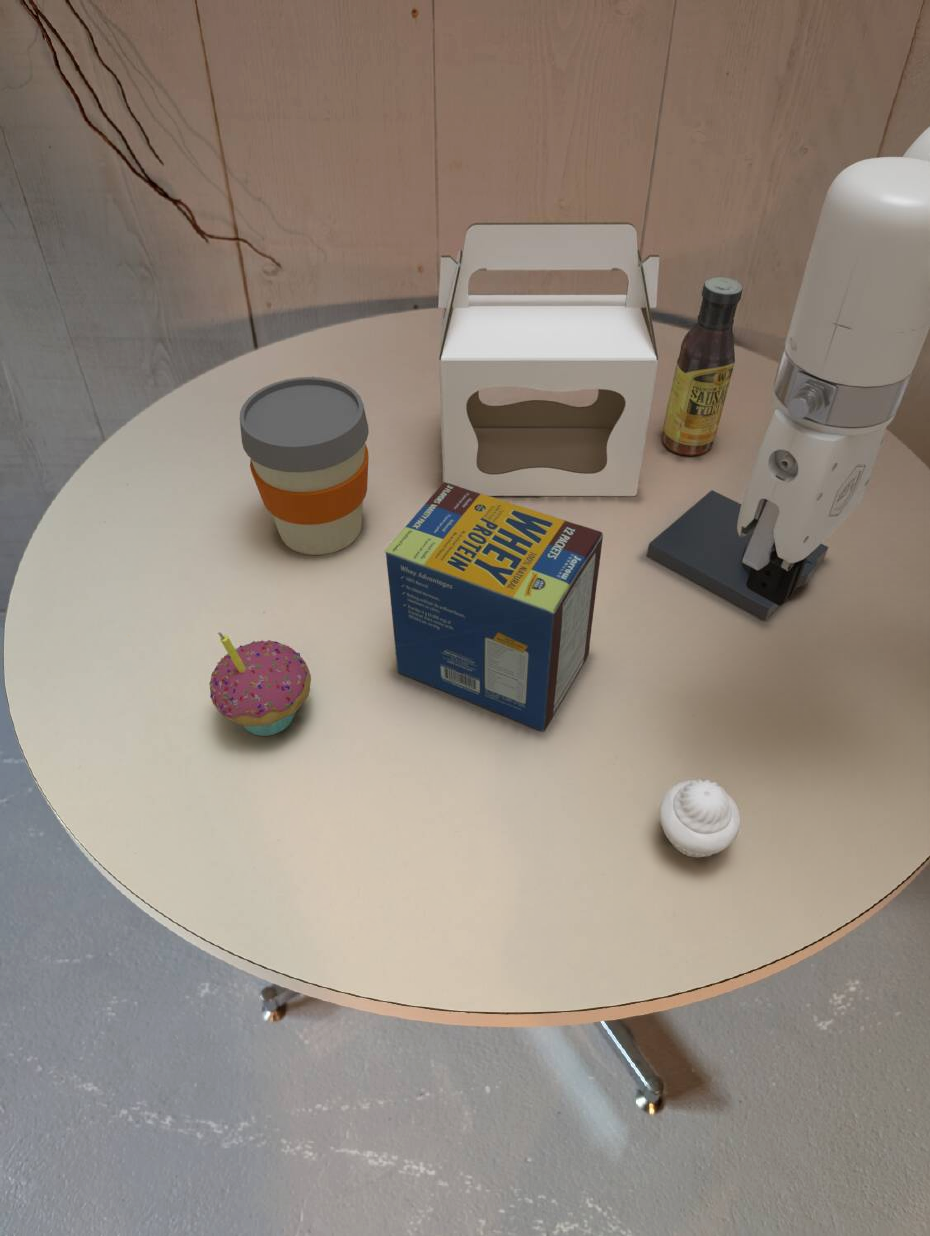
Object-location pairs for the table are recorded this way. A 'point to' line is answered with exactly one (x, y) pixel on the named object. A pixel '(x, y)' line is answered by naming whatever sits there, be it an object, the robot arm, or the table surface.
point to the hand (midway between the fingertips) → (769, 591)
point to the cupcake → (260, 685)
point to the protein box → (493, 602)
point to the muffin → (699, 818)
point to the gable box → (547, 364)
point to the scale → (718, 553)
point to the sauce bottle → (703, 371)
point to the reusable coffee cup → (309, 460)
